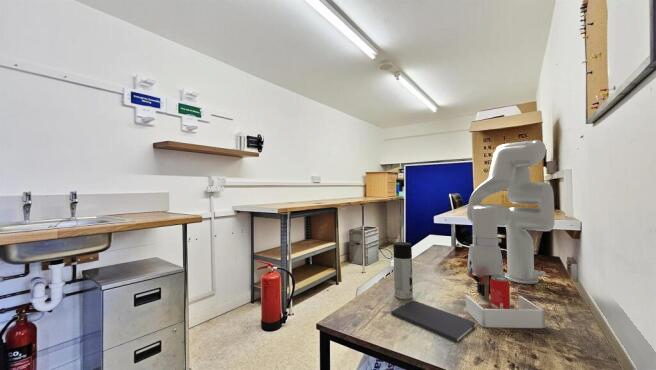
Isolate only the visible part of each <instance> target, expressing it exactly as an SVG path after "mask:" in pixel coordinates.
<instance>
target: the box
mask: <svg viewBox="0 0 656 370" xmlns="http://www.w3.org/2000/svg"><path fill="white" fill-rule="evenodd" d="M517 301H518V302H517V303H518V305H517V306H518V309H517V308H514V309H483V308H482V307H481V306H480V305H479V304H478V303H476V302H477V301H476V300H474V299H473V298H472V297H471V296H470V295H469V294H467V295H465V311H466V312H467V313H468V314H469V315H470V316H471V317H472V318H473V320H475V321H476V322H477V323H478V324H479V325H480V326H481V327H482V328H502V329H503V328H504V329H505V328H506V329H507V328H508V329H509V328H510V329H511V328H512V329H515V328H516V329H517V328H518V329H519V328H520V329H546V310H545V309H543V308H541V307H539V306H538V305H536V304H534V303H533V302H531V301H530V300H528V299H527V298H525V297H523V296H522V295H517Z"/></svg>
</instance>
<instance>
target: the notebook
mask: <svg viewBox="0 0 656 370" xmlns="http://www.w3.org/2000/svg"><path fill="white" fill-rule="evenodd" d="M390 313H391V316H394V317H396V318H399V319H401V320H404V321H406V322H409V323H410V324H413V325H415V326H418V327H420V328H422V329H425V330H427V331H428V332H432V333H434V334H437V335H439V336H441V337H444V338H445V339H448V340H450V341H453V342H455V343H458V341H460V340H461V339H462V338H463V337H464V336H466V335H467V334H468V333H469V332H470V331H471V330H473V329H474V328H475V327H476V322H475V321H473V320H470V319H468V318H466V317H462V316H459V315H456V314H453V313H451V312H447V311H445V310H442V309H440V308H436V307H434V306H430V305H428V304H426V303H425V304H424V303H422V302H419V301H416V300H411V301H408V302H407V303H404V304H403V305H401V306H399V307H397V308H395V309H393V310H391V312H390Z"/></svg>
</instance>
